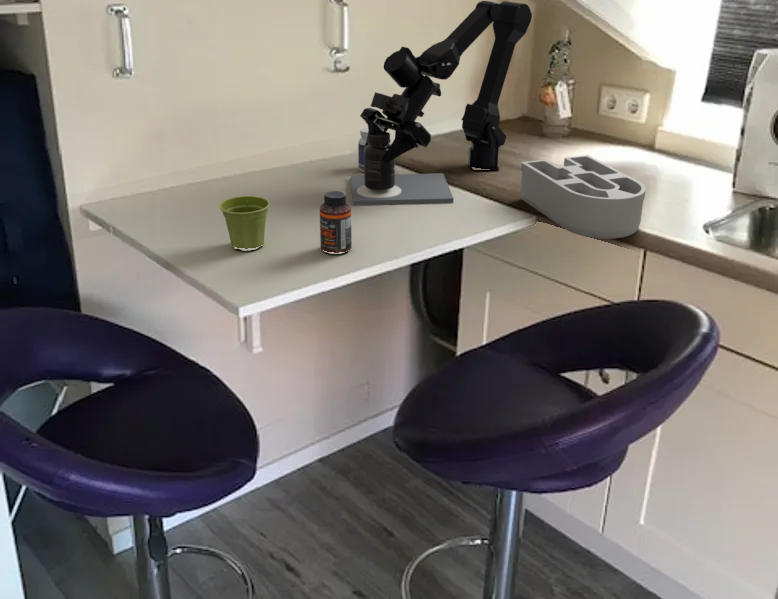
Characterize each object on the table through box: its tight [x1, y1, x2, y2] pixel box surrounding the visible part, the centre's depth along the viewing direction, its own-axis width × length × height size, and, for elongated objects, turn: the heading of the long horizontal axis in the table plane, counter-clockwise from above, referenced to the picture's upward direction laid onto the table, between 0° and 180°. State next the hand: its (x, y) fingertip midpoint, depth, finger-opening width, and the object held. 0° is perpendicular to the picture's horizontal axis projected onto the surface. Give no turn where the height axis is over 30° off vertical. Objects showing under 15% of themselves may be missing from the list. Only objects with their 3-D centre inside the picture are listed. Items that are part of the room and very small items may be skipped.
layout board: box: [350, 172, 455, 206], centre depth 196 cm, size 22×18×1 cm
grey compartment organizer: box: [520, 154, 647, 240], centre depth 180 cm, size 17×28×9 cm, turn 19°
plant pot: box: [219, 195, 271, 249], centre depth 164 cm, size 9×9×9 cm
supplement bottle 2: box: [363, 131, 396, 191], centre depth 190 cm, size 7×7×12 cm
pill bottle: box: [357, 127, 368, 173], centre depth 208 cm, size 6×6×10 cm
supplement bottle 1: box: [319, 190, 353, 253], centre depth 162 cm, size 6×6×11 cm
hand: (374, 158), depth 189 cm, fingers closed on supplement bottle 2, 7 cm apart
